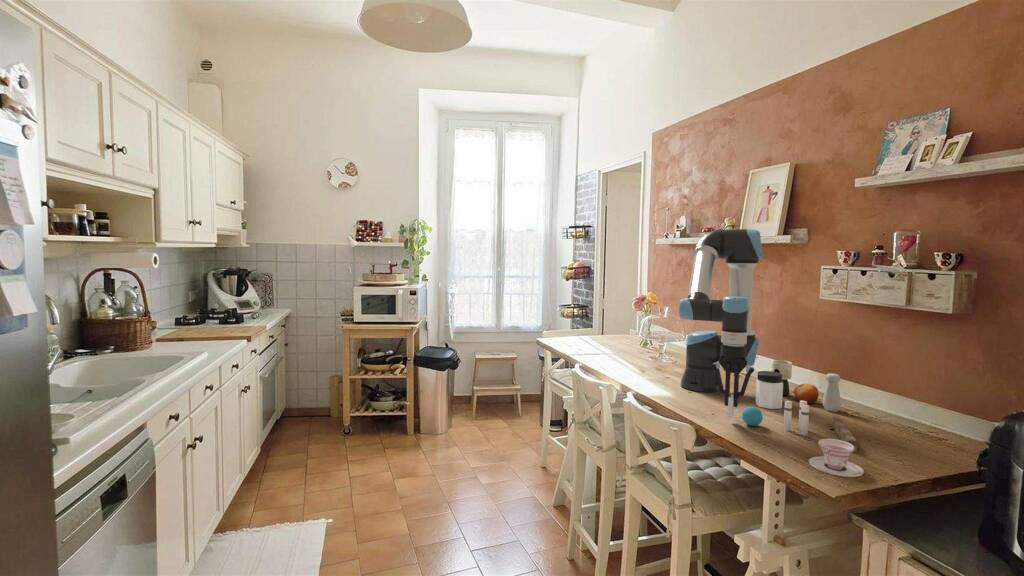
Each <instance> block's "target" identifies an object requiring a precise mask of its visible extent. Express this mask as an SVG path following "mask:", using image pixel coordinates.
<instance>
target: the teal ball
mask: <svg viewBox="0 0 1024 576" xmlns="http://www.w3.org/2000/svg"><path fill="white" fill-rule="evenodd" d="M741 417H742V420H743V422H744V423H745V424H746V425H748V426H749V427H754V426H755V427H756V426H759V425H760V424H761V423H762V421H763V419H764V418H763V417H764V416H763V413H762V411H761V410H760V409H759V408H757V407H755V406H748V407H745V408H744V409H743V411H742V413H741Z"/></svg>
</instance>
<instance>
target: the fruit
mask: <svg viewBox="0 0 1024 576" xmlns="http://www.w3.org/2000/svg"><path fill="white" fill-rule="evenodd" d="M793 393H794V396H795V398H796V399H797V400H798V401H799V402H800V401H807V405H809V404H817V402H818V399H819V396H820V395H819V389H818V387H817V386H815V384H812V383H802V384H799V385H797V386H796V387H795V388H794V390H793Z"/></svg>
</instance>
